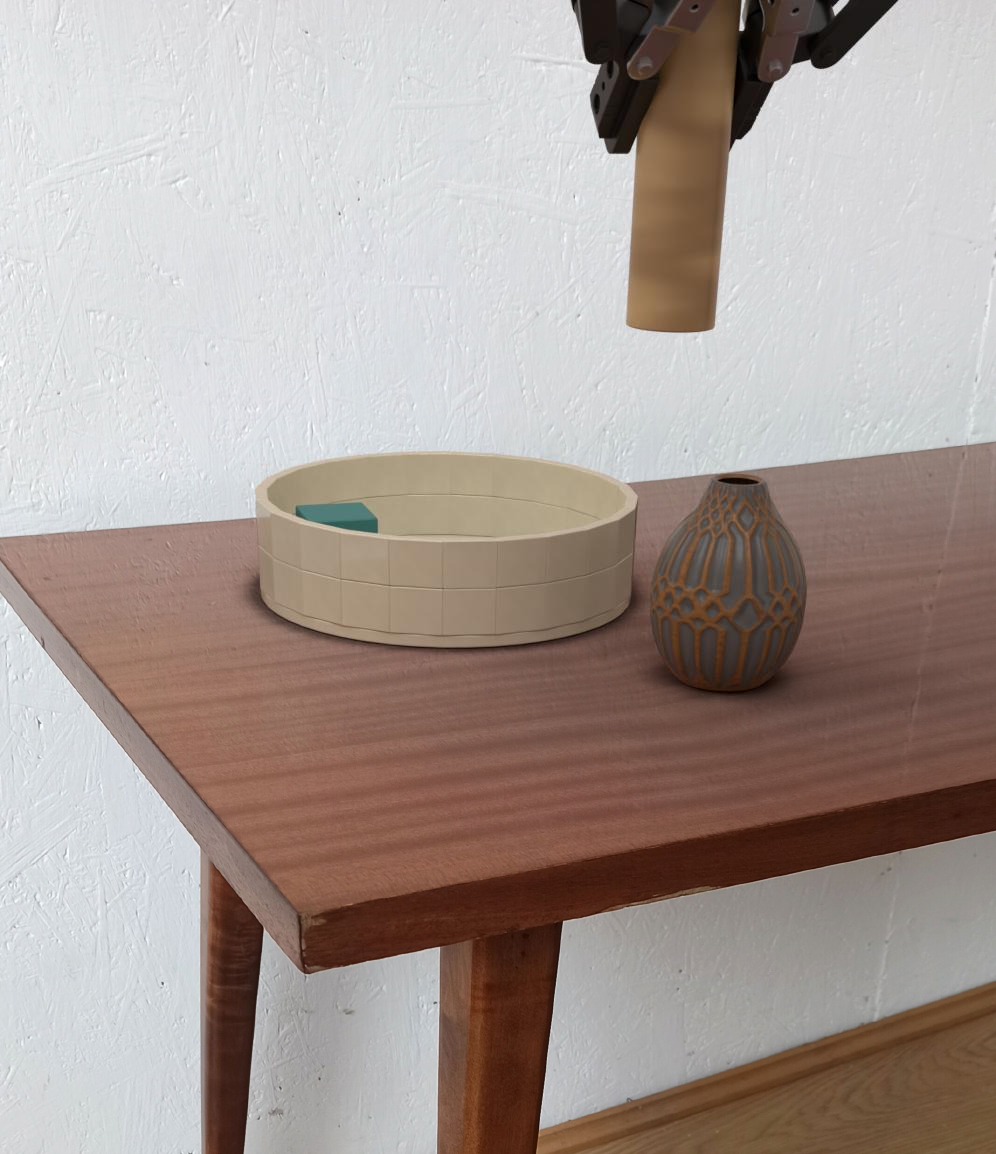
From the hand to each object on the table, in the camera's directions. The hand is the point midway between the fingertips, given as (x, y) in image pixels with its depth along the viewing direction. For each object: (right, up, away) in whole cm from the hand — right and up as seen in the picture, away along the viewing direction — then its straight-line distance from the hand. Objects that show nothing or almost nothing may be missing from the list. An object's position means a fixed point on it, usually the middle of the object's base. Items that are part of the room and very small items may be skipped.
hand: (661, 132), depth 64 cm
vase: (+4, -17, +14) cm, 23 cm away
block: (-14, -10, +24) cm, 30 cm away
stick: (0, -6, +2) cm, 7 cm away
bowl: (-9, -10, +25) cm, 29 cm away
